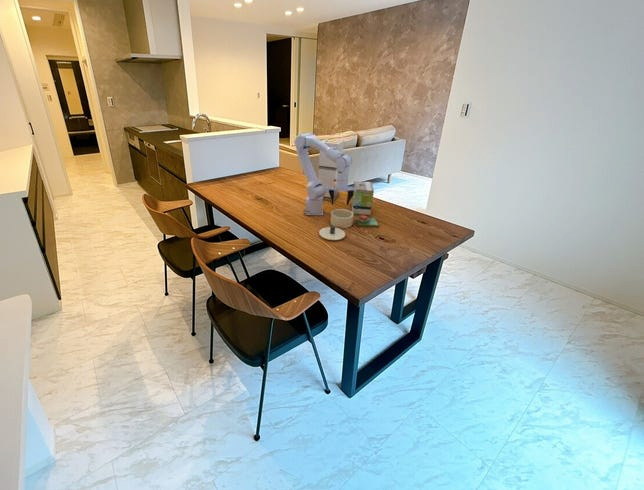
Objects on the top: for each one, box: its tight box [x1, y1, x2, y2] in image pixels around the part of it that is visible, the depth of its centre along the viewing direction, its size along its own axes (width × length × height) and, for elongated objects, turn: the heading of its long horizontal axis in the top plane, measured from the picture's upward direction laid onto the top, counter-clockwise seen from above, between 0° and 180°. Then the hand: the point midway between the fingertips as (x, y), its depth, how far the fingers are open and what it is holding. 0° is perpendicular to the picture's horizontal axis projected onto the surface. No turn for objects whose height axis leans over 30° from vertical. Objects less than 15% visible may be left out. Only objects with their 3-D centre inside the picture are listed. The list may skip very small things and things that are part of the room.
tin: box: [329, 208, 355, 229], centre depth 154 cm, size 11×11×5 cm
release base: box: [355, 215, 379, 228], centre depth 154 cm, size 10×8×3 cm
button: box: [359, 214, 368, 220], centre depth 153 cm, size 3×3×2 cm
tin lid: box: [318, 225, 346, 241], centre depth 143 cm, size 12×12×4 cm
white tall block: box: [317, 138, 345, 202], centre depth 182 cm, size 11×11×35 cm
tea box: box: [351, 180, 375, 216], centre depth 167 cm, size 15×10×15 cm
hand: (339, 204), depth 154 cm, fingers open, 7 cm apart
